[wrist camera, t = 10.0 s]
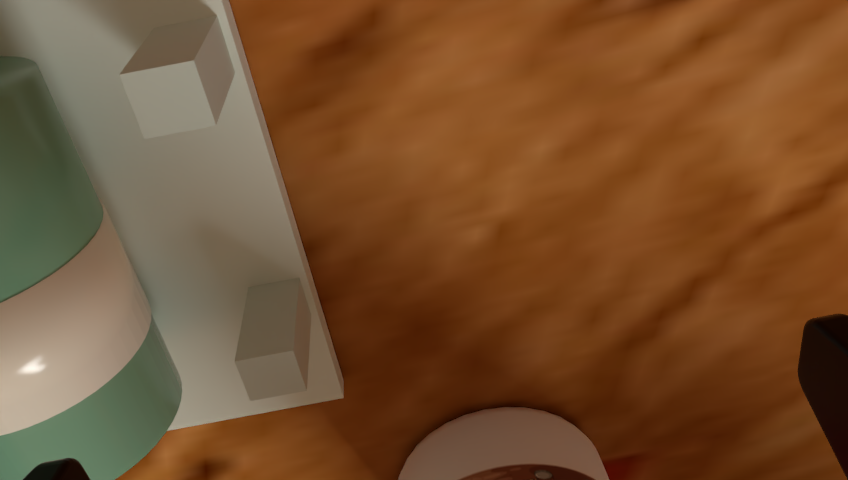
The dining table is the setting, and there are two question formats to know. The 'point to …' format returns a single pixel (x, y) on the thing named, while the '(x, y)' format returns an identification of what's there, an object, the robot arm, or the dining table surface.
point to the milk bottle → (505, 449)
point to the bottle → (69, 305)
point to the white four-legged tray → (188, 193)
